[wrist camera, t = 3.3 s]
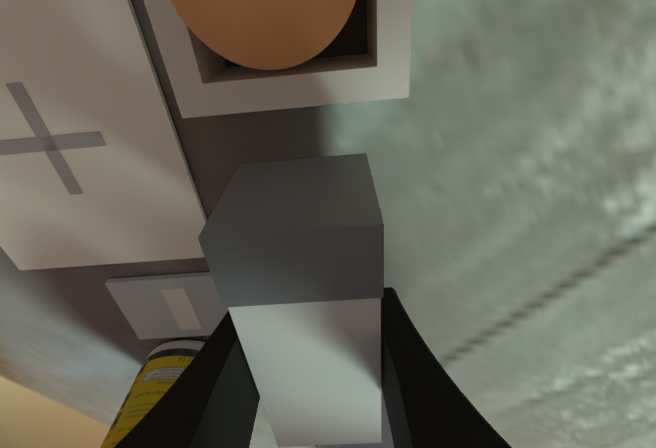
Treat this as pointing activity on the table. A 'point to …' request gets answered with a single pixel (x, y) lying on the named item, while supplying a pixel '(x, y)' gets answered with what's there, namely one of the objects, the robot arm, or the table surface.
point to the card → (169, 304)
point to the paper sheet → (88, 141)
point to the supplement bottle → (151, 385)
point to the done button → (265, 28)
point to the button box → (290, 83)
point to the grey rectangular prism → (305, 292)
